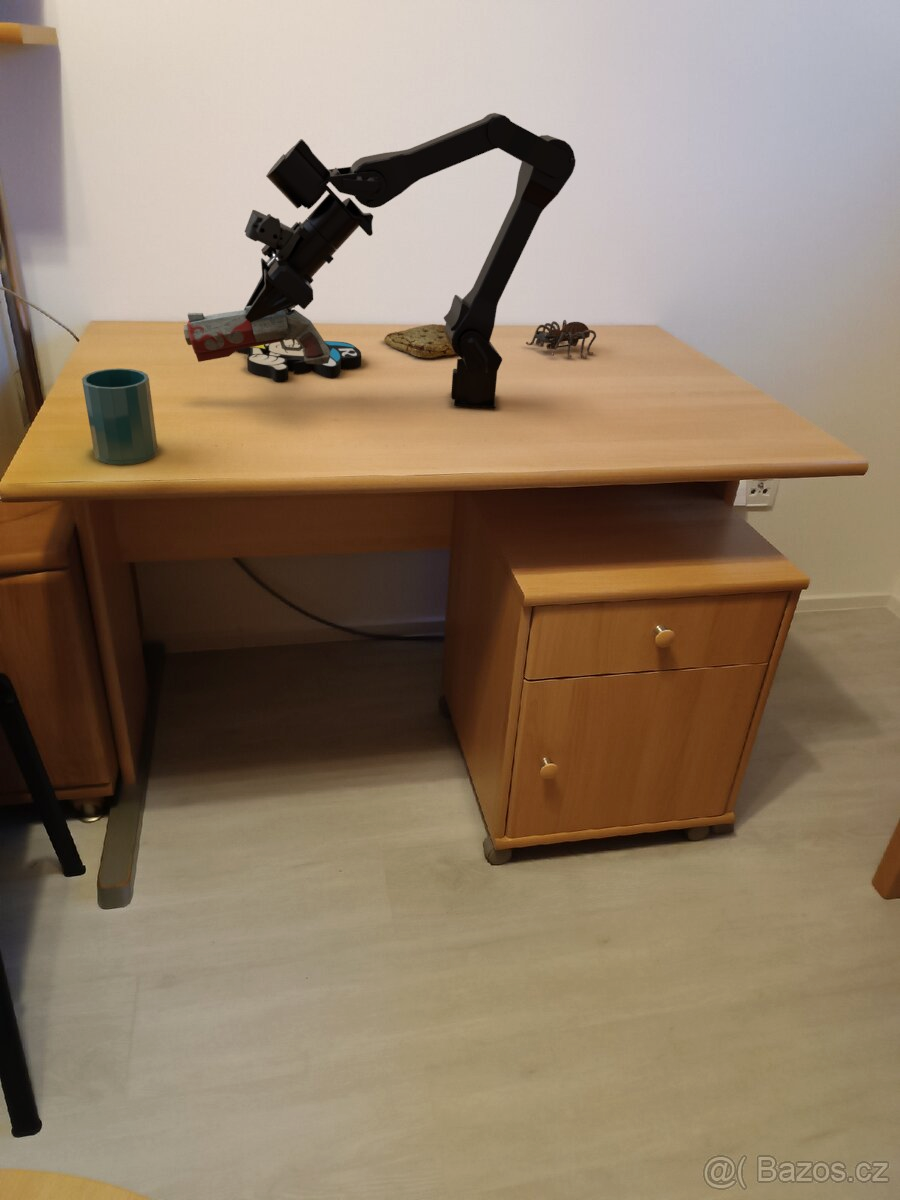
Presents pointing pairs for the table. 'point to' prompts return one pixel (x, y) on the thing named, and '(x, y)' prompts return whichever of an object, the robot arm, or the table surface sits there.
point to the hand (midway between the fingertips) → (247, 316)
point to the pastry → (421, 341)
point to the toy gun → (253, 334)
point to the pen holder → (120, 416)
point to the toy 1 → (299, 360)
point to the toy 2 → (563, 336)
